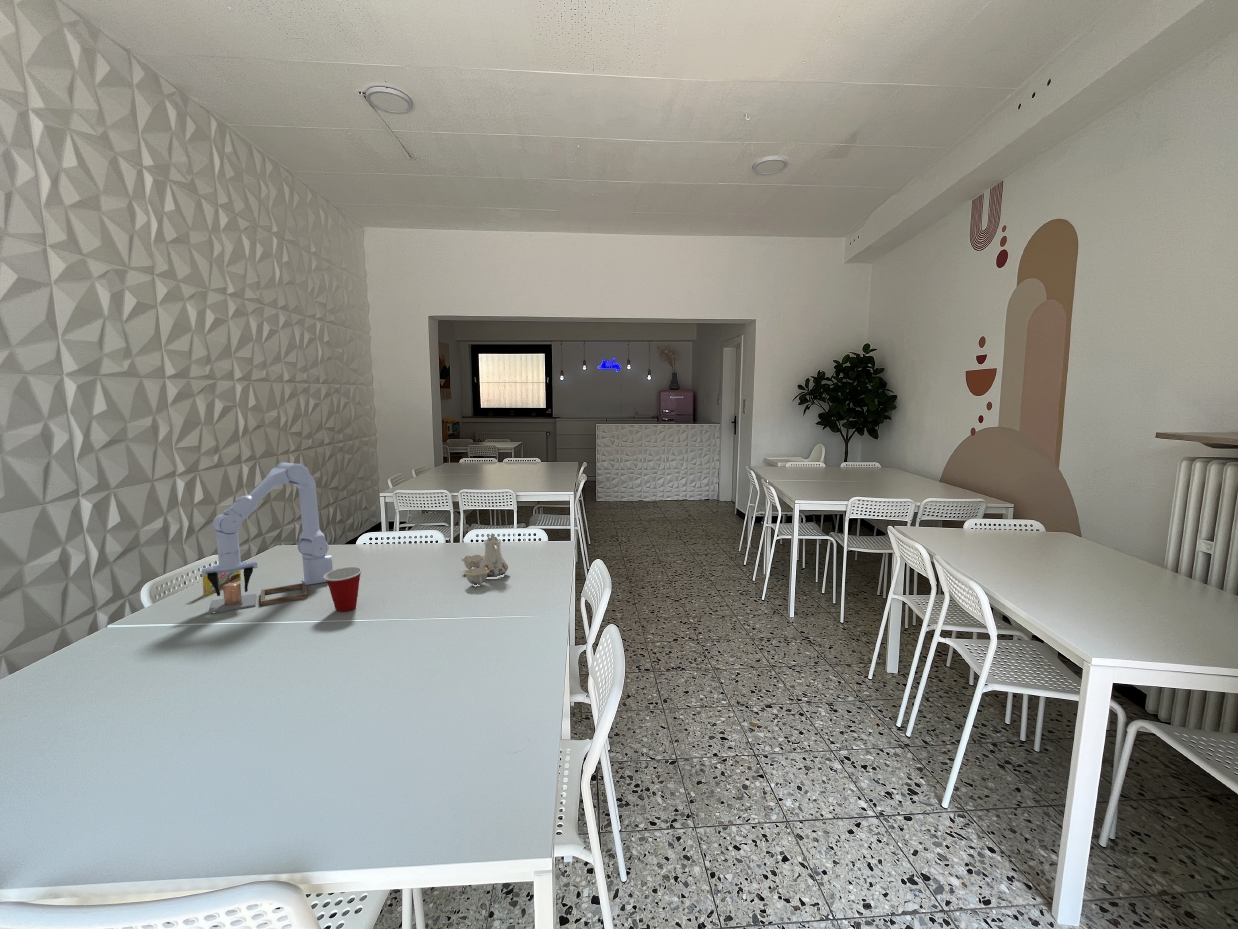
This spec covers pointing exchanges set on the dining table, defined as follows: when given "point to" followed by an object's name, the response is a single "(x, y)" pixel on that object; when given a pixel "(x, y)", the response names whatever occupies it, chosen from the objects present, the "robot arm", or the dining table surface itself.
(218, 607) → the grey mat
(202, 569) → the robot arm
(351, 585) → the plastic cup
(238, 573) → the candy box
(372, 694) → the dining table surface
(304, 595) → the frame
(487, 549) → the chinaware
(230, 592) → the peach rounded block
